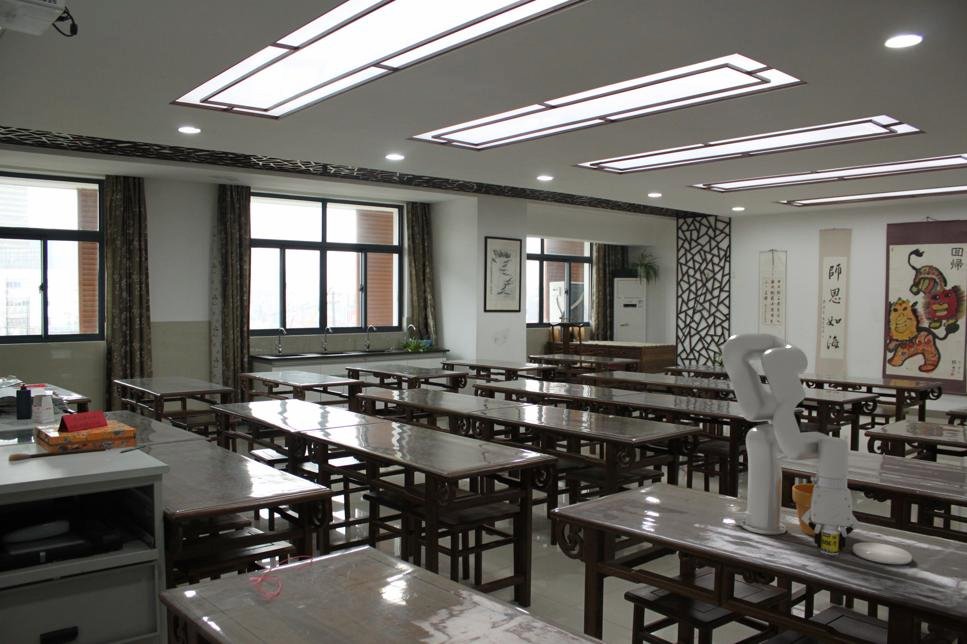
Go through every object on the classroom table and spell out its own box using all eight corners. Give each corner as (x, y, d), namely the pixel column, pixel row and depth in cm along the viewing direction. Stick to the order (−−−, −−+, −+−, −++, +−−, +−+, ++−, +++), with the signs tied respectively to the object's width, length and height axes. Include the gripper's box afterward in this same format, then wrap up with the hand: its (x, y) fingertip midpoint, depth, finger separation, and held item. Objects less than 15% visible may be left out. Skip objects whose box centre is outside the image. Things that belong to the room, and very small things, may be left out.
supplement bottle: (819, 553, 197) (820, 523, 197) (820, 548, 202) (821, 518, 201) (838, 556, 195) (839, 526, 195) (839, 551, 199) (840, 521, 199)
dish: (855, 561, 192) (856, 555, 192) (849, 545, 205) (850, 539, 205) (916, 569, 187) (916, 563, 186) (906, 552, 200) (906, 546, 200)
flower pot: (837, 543, 206) (839, 498, 206) (785, 533, 215) (787, 490, 214) (847, 531, 217) (849, 488, 217) (797, 522, 226) (799, 481, 225)
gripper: (798, 482, 197) (796, 548, 198) (868, 489, 191) (865, 557, 192) (797, 476, 204) (795, 539, 205) (864, 482, 198) (862, 548, 199)
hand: (829, 547), depth 198 cm, fingers closed on supplement bottle, 4 cm apart
